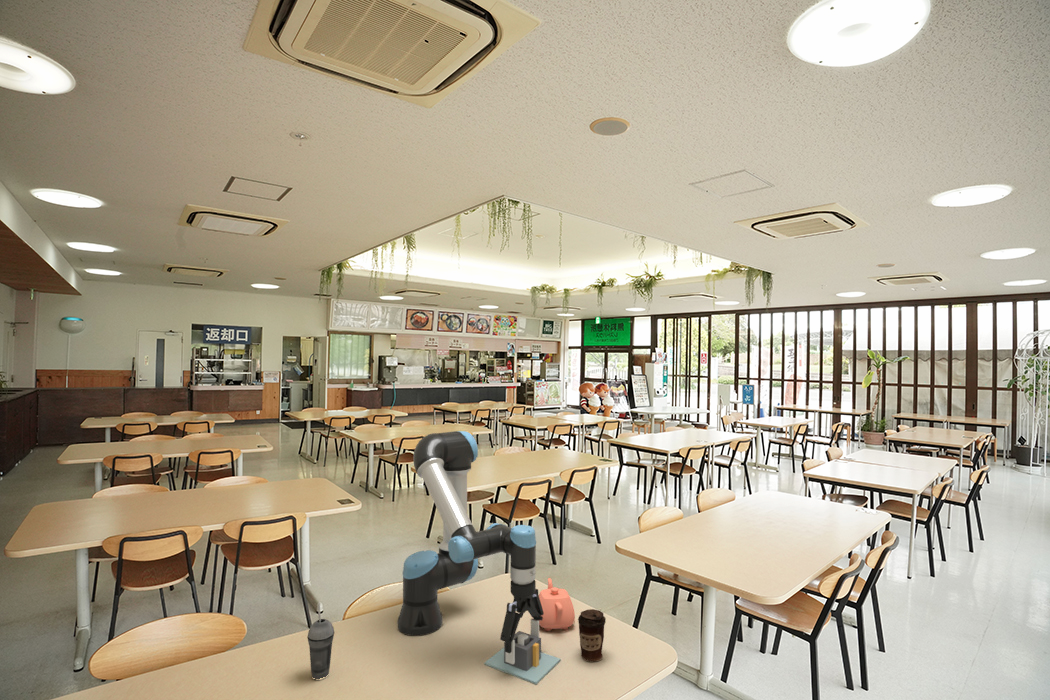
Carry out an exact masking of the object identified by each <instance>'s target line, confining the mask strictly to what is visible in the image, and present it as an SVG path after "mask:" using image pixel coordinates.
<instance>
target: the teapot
mask: <svg viewBox="0 0 1050 700" xmlns="http://www.w3.org/2000/svg"><path fill="white" fill-rule="evenodd" d="M538 595H539V599H540V602H541V605H542V608H543V612H544V614H543V615H541V616H542V617H543V619H542V621H541V620H539V627H541V628H544V631H546V632H550V631H552V630H553V629H555V630H557V629H561V630H564V631H565V630H569V627H571V626H572V625H573V624H574V622H575V619H576V615H575V608H574V604H573V601H572V599H571V596H570V595H569V592H568V591H567V590H566V589H565V588H558V587H555V586H553V581H552V578H551V577H548V578H547V588H544V589H542V590H540V591H539V593H538Z"/></svg>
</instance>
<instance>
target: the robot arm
mask: <svg viewBox="0 0 1050 700" xmlns="http://www.w3.org/2000/svg"><path fill="white" fill-rule="evenodd" d="M478 456H479V449H478V444H477V441H476V439H475V438H474V436H473V434H471V433H470V432H468V431H466V430H460V431H459V430H455V431H445V432H438V433H437V432H436V433H435V432H434V433H433V432H432V433H428V434H427V435H425V436H423V437H422V438H420V440H419V441H418V443H417V444H416V446H415V448H414V452H413V460H412V461H413V462H412V463H413V467H414V470H415V472H416V474H417V476H418V477H419V478H420V479H422V480H423V482H424V484H425V486H426V488H427V491H428V492H429V494H430V496H431V498H432V501H433V503H434V505H435V508H436V509H437V511H438V513H439V516H440V517H441V520H442V533H443V534H442V535H443V537H442V541H441V542H440V544H438V553H437V552H436V551H435V550H431V549H430V550H429V549H428V550H420V551H417V552H416V551H415V552H414V553H412V554H410V555H408V557H406V559H405V560H404V562H403V567H402V568H403V569H402V605H401V608H400V611H399V616H397V620H396V621H397V625H396V626H397V630H398V631H399V632H400V633H401V634H403V633H404V635H408V636H414V637H415V636H424V635H429V634H432V633H434V632H437V631H439V629H440V628H441V627H442V625H443V614H442V612H441V608H440V607H441V606H440V603H439V601H438V593H439V592H438V591H439V590H442V589H446V588H448V587H452V586H456V585H459V584H464V583H466V582H467V581H470V580H472V579H473V578H474V577H475V576H476V573H477V572H478V569H479V568H478V567H479V559H481V558H483V557H484V558H485V557H489V556H492V555H496V554H500V553H502V554H503V553H504V554H505V555H508V556H510V594H511V595H512V596H513V601H512V602H507V604H506V611H505V616H504V621H503V625H502V629H501V633H500V638H499V640H500V641H503V642H505V652H506V662H508V663H511V664H514V663H515V640H513V638H514V635H515V633H517V630H518V626H519V624H520V620H521V619H522V618H523V616H524V614H525V613H526V612H527V611H528V613H529V614H530V616H531V619H530V635H533V636H536V637H539V638H540V625H539V620H541V621H542V619H543V617H542V616H541V615H543V614H544V612H543V608H542V605H541V602H540V599H539V589H537V588H536V586H537V584H536V582H537V581H536V573H537V572H536V560H537V558H536V556H537V555H536V552H537V551H536V550H537V549H536V548H537V547H536V545H537V539H536V538H537V537H536V529H535V528H534V527H533V526H531V525H526V524H518V525H514V526H513V527H509V526H507V525H505V524H503V523H499V522H498V523H495V522H494V523H492V524H490V525H489V526H487V527H486V529H484V530H479V531H477V530H476V529H475V527H474V525H473V523H472V521H471V519H470V517H469V515H468V473H469V472H470V471H471V470H472V463H474V462H475V461H477V458H478Z"/></svg>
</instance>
